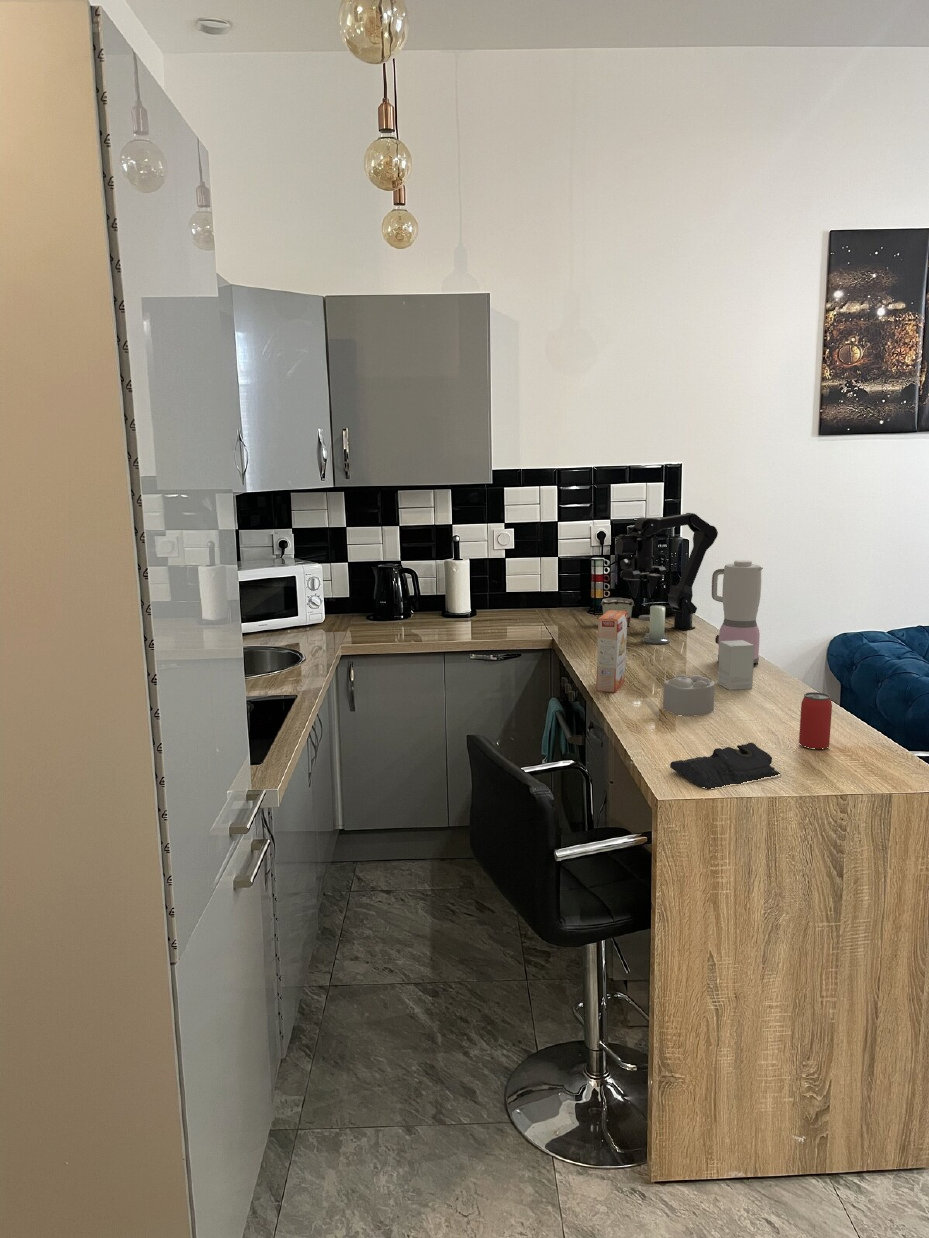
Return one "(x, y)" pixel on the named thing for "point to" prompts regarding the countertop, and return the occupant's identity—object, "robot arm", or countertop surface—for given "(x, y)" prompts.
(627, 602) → the food container
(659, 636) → the sage green rounded block
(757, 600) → the blender
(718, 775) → the folded black cloth
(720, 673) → the supplement box
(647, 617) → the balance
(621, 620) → the cracker box
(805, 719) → the beer can
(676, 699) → the lumpy-topped squat cylinder
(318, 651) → the countertop surface
